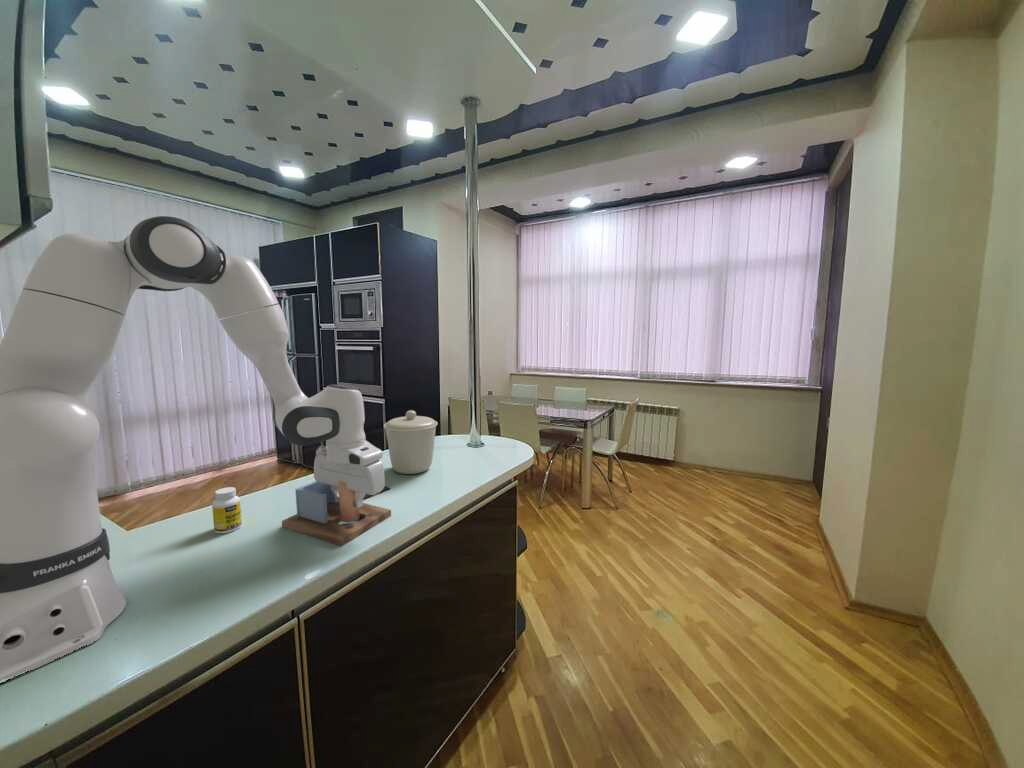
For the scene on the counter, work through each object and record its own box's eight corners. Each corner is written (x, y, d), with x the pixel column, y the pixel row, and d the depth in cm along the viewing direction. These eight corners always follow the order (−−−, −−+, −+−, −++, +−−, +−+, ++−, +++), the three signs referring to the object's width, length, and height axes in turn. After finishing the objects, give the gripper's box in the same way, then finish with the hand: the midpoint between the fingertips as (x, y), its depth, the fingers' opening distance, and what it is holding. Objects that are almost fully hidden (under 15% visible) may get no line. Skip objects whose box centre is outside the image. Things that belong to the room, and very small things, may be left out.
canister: (404, 458, 146) (403, 404, 143) (447, 464, 141) (446, 407, 138) (373, 475, 129) (371, 413, 126) (420, 482, 124) (419, 418, 121)
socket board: (342, 546, 86) (341, 539, 86) (282, 526, 94) (281, 520, 94) (391, 515, 101) (390, 509, 101) (335, 501, 109) (335, 495, 109)
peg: (349, 523, 93) (347, 484, 91) (335, 519, 95) (333, 481, 93) (363, 515, 97) (362, 477, 96) (350, 511, 99) (348, 474, 97)
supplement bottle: (227, 535, 90) (223, 495, 89) (208, 532, 91) (204, 493, 90) (247, 524, 95) (244, 486, 94) (229, 522, 96) (226, 484, 95)
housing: (324, 523, 92) (322, 496, 91) (297, 515, 96) (295, 489, 95) (356, 506, 101) (355, 481, 100) (330, 500, 105) (329, 475, 104)
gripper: (305, 448, 95) (308, 501, 97) (368, 460, 87) (370, 517, 88) (326, 441, 100) (329, 491, 102) (388, 452, 92) (389, 506, 94)
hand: (349, 504), depth 95 cm, fingers closed on peg, 5 cm apart
